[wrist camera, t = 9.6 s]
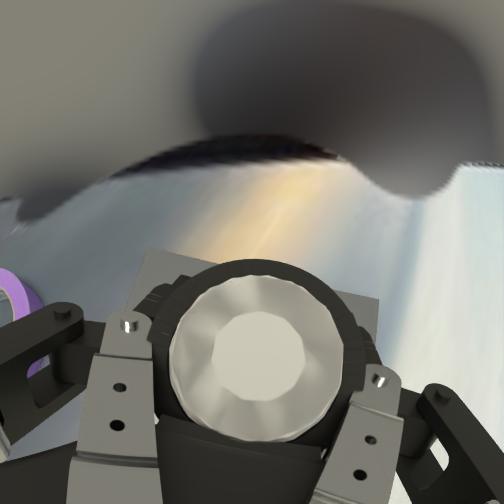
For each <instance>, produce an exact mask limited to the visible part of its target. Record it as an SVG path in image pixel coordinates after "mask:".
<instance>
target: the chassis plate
mask: <svg viewBox="0 0 504 504" xmlns="http://www.w3.org/2000/svg"><path fill="white" fill-rule="evenodd" d="M216 265H219V264H217V263H212V262H208V261H204V260H200V259H195V258H191V257H187V256H183V255H179V254H174V253H170V252H166V251H162V250H158V249H154V248H150V247H149V248H148V250H147V253H146V255H145V258H144V261H143V263H142V266H141V268H140V271H139V274H138V276H137V279H136V282H135V284H134V287H133V290H132V292H131V295H130V298H129V301H128V304H127V306H126V309H125V311H132V310H133V309H134V308H135V307H136V306H137V305H138V304H139V303H140V302H141V301H142V300H143V299H145V297H146V296H147V295H148V294H149V293H150V292H151V291H152V290H153V289H154V288H155V287H156V286H158V285H161V284H164V283H168V284H171V285H172V284H173V283H174V281H175V280H176V279H177V278H178V277H179V276H180V275H181V274H182V275H186V276H190V277H193V276H195V275H196V274H198V273H200V272H202V271H204V270H206V269H208V268H211V267H213V266H216ZM333 291H334V292H335V293H336V294H337V295H338V296H339V297H340V298H341V299H342V301H343V302H344V303H345V305H346V306H347V307H348V309H349V310H350V312H352V313H353V315H354V317H355V320H356V323H357V325H358V326H362V327H363V328H364V329H365V330H366V331H367V332H368V333H369V334H370V335H371V338H372V340H373V343H374V345H375V343H376V332H377V321H378V308H379V299H374V298H369V297H365V296H360V295H355V294H351V293H346V292H341V291H337V290H333ZM154 418H155V424H157V423H158V421H159V420H158V418H157V417H156V415H155V413H154Z"/></svg>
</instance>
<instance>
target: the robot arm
mask: <svg viewBox="0 0 504 504" xmlns="http://www.w3.org/2000/svg"><path fill="white" fill-rule="evenodd" d="M190 278H191V277H190V276H186V275H182V274H181V275H180V276H179V277H178V278H177V279H176V280H175V281H174V283H173V284H172V285H171V284H168V283H164V284H161V285H158V286H156V287H155V288H154V289H153V290H152V291H151V292H150V293H149V294H148V295H147V296H146V297H145V299H143V300H142V301H141V302H140V303H139V304H138V305H137V306H136V307H135V308H134V309H133V310H132V311H119V312H115V313H113V314H111V315H110V316H109V317H108V319H107V323H102V322H93V321H86V320H84V315H83V310H82V309H81V308H80V307H79V306H78V305H76V304H73V303H69V302H56V303H52V304H50V305H47V306H45V307H43V308H41V309H39V310H37V311H34V312H32V313H30V314H28V315H26V316H24V317H22V318H20V319H18V320H15V321H13V322H11V323H9V324H7V325H5V326H3V327H1V328H0V504H388V502H389V498H390V494H391V489H392V485H393V480H394V476H395V471H396V472H397V474H398V476H399V478H400V480H401V482H402V484H403V486H404V488H405V490H406V492H407V494H408V496H409V498H410V500H411V502H412V504H504V453H503V452H502V450H501V449H500V448H499V446H498V445H497V444H496V443H495V441H494V440H493V439H492V437H491V436H490V435H489V434H488V432H487V431H486V430H485V429H484V427H483V426H482V425H481V423H480V422H479V421H478V420H477V419H476V417H475V416H474V415H473V414H472V412H471V411H470V410H469V409H468V407H467V406H466V405H465V404H464V403H463V401H462V400H461V399H460V398H459V397H458V395H457V394H456V393H455V392H454V391H453V390H451V389H450V388H448V387H446V386H444V385H441V384H436V383H432V384H428V385H427V386H426V387H425V388H424V390H423V392H422V393H421V394H420V393H416V392H413V391H410V390H407V389H404V388H402V387H401V379H400V377H399V376H398V375H397V374H396V373H395V372H394V371H393V370H391V369H390V368H388V367H385V366H383V365H382V362H381V360H380V357H379V355H378V352H377V350H376V347H375V345H374V343H373V340H372V338H371V335H370V334H369V333H368V332H367V331H366V330H365V329H364V328H363V327H362V326H358V325H357V326H358V328H359V330H360V333H361V337H362V340H363V344H364V349H365V357H366V376H365V384H364V389H363V391H359V390H354V391H353V393H352V395H351V398H350V400H349V402H348V404H347V407H346V409H345V411H344V413H343V415H342V418H341V420H340V422H339V424H338V426H337V428H336V430H335V432H334V434H333V436H332V438H331V440H330V442H329V444H328V446H327V448H326V449H325V450H324V451H322V452H321V447H315V446H306V445H299V444H291V443H285V442H272V443H242V442H237V441H235V440H232V439H230V438H228V437H225V436H223V435H221V434H219V433H216V432H214V431H212V430H210V429H208V428H206V427H203V426H201V425H198V424H195V423H191V422H187V421H184V420H180V419H177V418H173V417H170V416H167V415H164V414H162V415H161V417H160V419H159V421H158V423H157V424H155V418H154V396H153V358H152V342H151V341H148V340H146V339H147V336H148V333H149V330H150V327H151V325H152V323H153V321H154V318H155V316H156V315H157V313H158V311H159V310H160V308H161V307H162V305H163V304H164V303H165V301H166V300H167V299H168V297H169V296H170V295H171V294H172V293H173V292H174V291H175V290H176V289H177V288H178V287H180V286H181V285H182V284H183V283H184V282H186V281H187V280H189V279H190ZM351 314H352V316H353V317H354V315H353V313H352V312H351ZM354 319H355V317H354ZM355 321H356V320H355ZM46 355H48V356H49V361H50V364H49V365H48V366H46V367H45V368H43V369H42V370H40V371H38V372H37V373H35V374H34V375H32V376H30V377H29V378H27V373H28V370H29V368H30V366H31V365H32V364H33V363H35V362H36V361H38V360H40V359H41V358H43V357H45V356H46ZM85 389H86V393H85V399H84V404H83V410H82V416H81V422H80V428H79V435H78V441H75V442H72V443H69V444H66V445H63V446H59V447H56V448H53V449H50V450H46V451H43V452H40V453H36V454H33V455H29V456H25V457H22V458H18V459H14V460H10V461H6V459H7V458H8V456H9V454H10V448H11V446H12V445H13V444H14V443H16V442H17V441H18V440H20V439H21V438H22V437H23V436H25V435H26V434H27V433H29V432H30V431H31V430H33V429H34V428H35V427H37V426H38V425H39V424H41V423H42V422H43V421H44V420H46V419H47V418H48V417H50V416H51V415H52V414H54V413H55V412H56V411H58V410H59V409H60V408H62V407H63V406H64V405H65V404H67V403H68V402H69V401H71V400H72V399H73V398H75V397H76V396H77V395H79V394H80V393H81V392H82V391H84V390H85ZM437 438H438V439H439V441H440V442H441V444H442V445H443V447H444V448H445V450H446V451H447V453H448V456H449V463H448V466H447V468H446V469H445V470H444V471H443V469H442V468H441V466H440V464H439V463H438V461H437V460H436V458H435V456H434V455H433V453H432V452H431V450H430V447H431V446H432V445H433V443H434V442H435V441H436V439H437Z"/></svg>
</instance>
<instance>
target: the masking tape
mask: <svg viewBox="0 0 504 504" xmlns="http://www.w3.org/2000/svg"><path fill="white" fill-rule="evenodd" d="M6 299H9V300H10V302H11V305H12V309H13V321H15V320H18V319H20V318H22V317H24V316H26V315H28V314H30V313H32V312H34V311H37V310H39V309H41V308H43V305H42V303H41V301H40V299H39V297H38V296H37V295H36V293H35V292H34V291H33V290H32V289H31V288H29V287H28V286H27V285H26V284H25V283H23V282H22V281H21V280H20V279H19V278H17V277H16V276H15V275H14V274H13V273H11V272H9V271H7V270H5V269H1V268H0V301H2V300H6ZM42 359H43V358H41V359H40V360H38V361H36V362H35V363H33V364H32V365H31V366H30V368H29V370H28V373H27V378H29V377H30V376H32V375H34V374H35V373H36V371H37V370H38V368H39V366H40V364H41V361H42Z"/></svg>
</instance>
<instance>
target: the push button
mask: <svg viewBox="0 0 504 504" xmlns="http://www.w3.org/2000/svg"><path fill="white" fill-rule="evenodd" d="M146 340H148V341H151V342H152V358H153V396H154V413H155V415H156V417H157V418H158V420H159V419H160V417H161V415H162V414H164V415H167V416H170V417H173V418H177V419H180V420H184V421H187V422H191V423H195V424H198V425H201V426H203V427H206V428H208V429H210V430H212V431H214V432H216V433H219V434H221V435H223V436H225V437H228V438H230V439H232V440H235V441H237V442H242V443H272V442H285V443H291V444H299V445H306V446H315V447H321V452H322V451H324V450H325V449H326V448H327V446H328V444H329V442H330V440H331V438H332V436H333V434H334V432H335V430H336V428H337V426H338V424H339V422H340V420H341V418H342V415H343V413H344V411H345V409H346V407H347V404H348V402H349V400H350V398H351V395H352V393H353V391H354V390H359V391H363V389H364V384H365V376H366V357H365V349H364V344H363V340H362V337H361V333H360V330H359V328H358V326H357V323H356V321H355V319H354V317H353V316H352V314H351V312H350V310H349V309H348V307H347V306H346V305H345V303H344V302H343V301H342V299H341V298H340V297H339V296H338V295H337V294H336V293H335V292H334V291H333V290H332V289H331V288H330V287H329V286H328V285H326V284H325V283H324V282H322V281H321V280H320V279H318V278H317V277H315V276H313V275H312V274H310V273H308V272H306V271H304V270H302V269H300V268H297V267H295V266H292V265H289V264H286V263H282V262H278V261H272V260H264V259H244V260H235V261H230V262H226V263H222V264H219V265H216V266H213V267H211V268H208V269H206V270H204V271H202V272H200V273H198V274H196V275H195V276H193V277H191V278H190V279H189V280H187V281H186V282H184V283H183V284H182V285H181V286H180V287H178V288H177V289H176V290H175V291H174V292H173V293H172V294H171V295H170V296H169V297H168V299H167V300H166V301H165V303H164V304H163V305H162V307H161V308H160V310H159V311H158V313H157V315H156V316H155V318H154V321H153V323H152V325H151V327H150V330H149V333H148V336H147V339H146Z"/></svg>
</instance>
